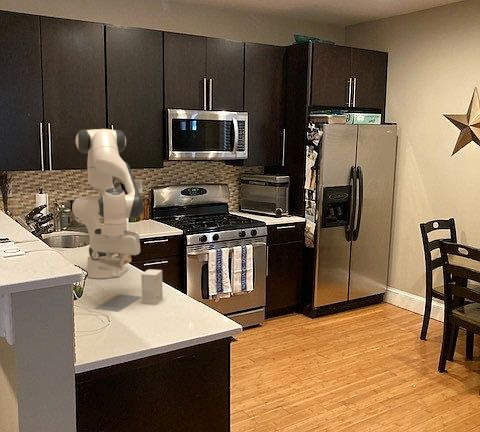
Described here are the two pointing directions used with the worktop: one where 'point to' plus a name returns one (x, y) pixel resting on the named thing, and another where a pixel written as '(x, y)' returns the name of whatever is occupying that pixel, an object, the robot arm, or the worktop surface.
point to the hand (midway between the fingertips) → (116, 264)
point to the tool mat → (118, 303)
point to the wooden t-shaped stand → (112, 262)
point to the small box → (151, 287)
